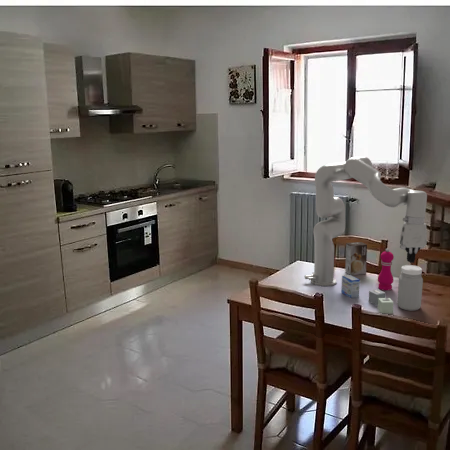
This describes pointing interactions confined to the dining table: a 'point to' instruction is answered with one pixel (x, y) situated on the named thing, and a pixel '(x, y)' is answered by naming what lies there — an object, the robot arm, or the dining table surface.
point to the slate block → (376, 296)
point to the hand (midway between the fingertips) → (410, 261)
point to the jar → (410, 288)
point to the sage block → (385, 305)
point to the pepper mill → (386, 271)
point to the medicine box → (350, 286)
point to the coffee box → (356, 258)
